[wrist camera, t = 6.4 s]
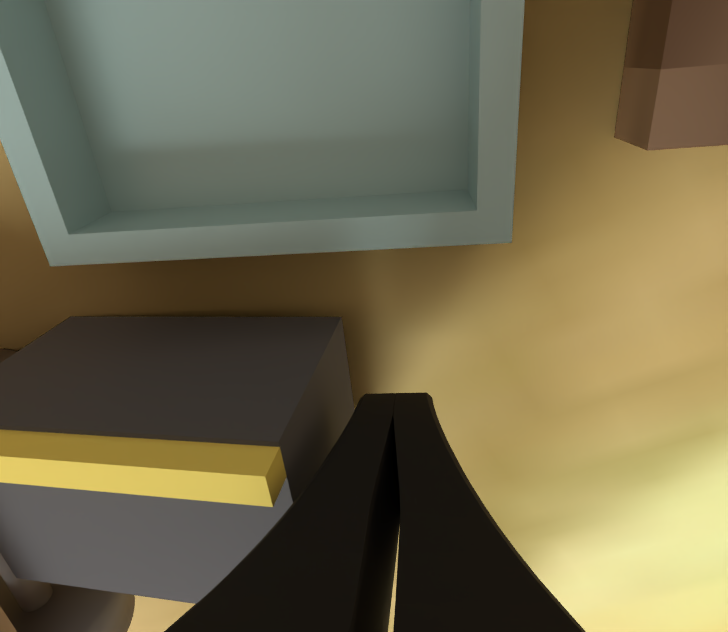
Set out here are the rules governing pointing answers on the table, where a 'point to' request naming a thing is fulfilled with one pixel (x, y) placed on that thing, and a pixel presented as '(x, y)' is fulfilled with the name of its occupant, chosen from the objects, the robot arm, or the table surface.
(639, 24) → the pin holder
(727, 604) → the table surface
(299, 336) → the chock
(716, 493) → the table surface
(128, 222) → the tray
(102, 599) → the trolley
